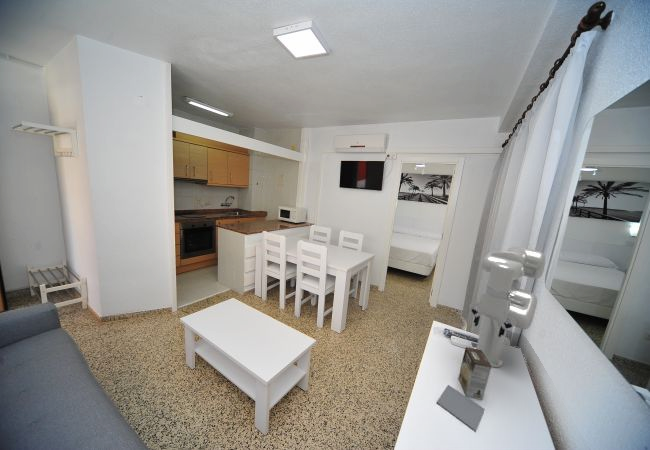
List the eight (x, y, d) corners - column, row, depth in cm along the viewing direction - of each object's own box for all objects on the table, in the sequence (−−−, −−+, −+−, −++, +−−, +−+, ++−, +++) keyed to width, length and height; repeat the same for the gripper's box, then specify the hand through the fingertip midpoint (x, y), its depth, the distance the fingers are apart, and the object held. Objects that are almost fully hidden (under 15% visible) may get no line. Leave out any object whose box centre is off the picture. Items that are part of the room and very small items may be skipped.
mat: (447, 385, 94) (448, 384, 94) (484, 410, 85) (484, 408, 85) (436, 403, 86) (436, 401, 86) (475, 432, 77) (475, 430, 77)
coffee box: (457, 378, 99) (464, 346, 95) (473, 381, 97) (481, 349, 94) (465, 397, 90) (474, 362, 87) (483, 401, 89) (492, 366, 85)
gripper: (526, 298, 88) (515, 337, 91) (475, 281, 100) (467, 317, 104) (523, 304, 83) (512, 346, 86) (470, 286, 95) (462, 322, 99)
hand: (487, 329), depth 95 cm, fingers open, 7 cm apart
